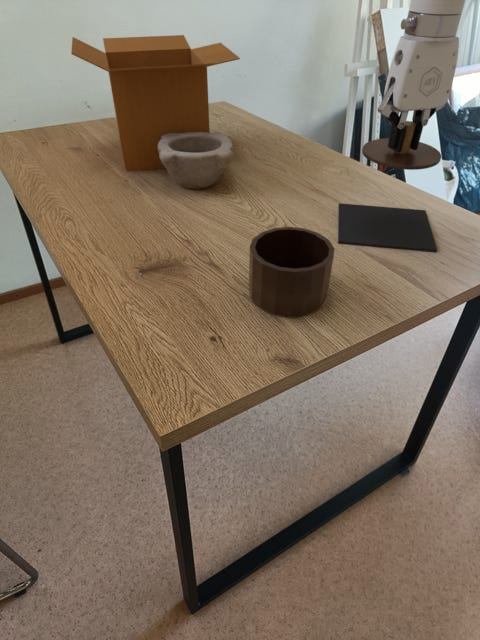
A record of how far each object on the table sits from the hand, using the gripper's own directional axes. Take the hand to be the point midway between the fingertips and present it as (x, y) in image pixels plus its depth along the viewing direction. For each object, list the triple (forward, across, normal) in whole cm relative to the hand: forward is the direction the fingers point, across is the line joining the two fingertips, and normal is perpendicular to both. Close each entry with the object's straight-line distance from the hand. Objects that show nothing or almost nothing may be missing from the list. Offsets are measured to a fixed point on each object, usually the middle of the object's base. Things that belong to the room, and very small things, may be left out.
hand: (402, 147), depth 80 cm
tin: (+16, -27, -13) cm, 34 cm away
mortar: (+16, -29, +34) cm, 47 cm away
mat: (+16, 0, 0) cm, 16 cm away
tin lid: (+1, 0, 0) cm, 1 cm away
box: (+16, -32, +54) cm, 65 cm away
